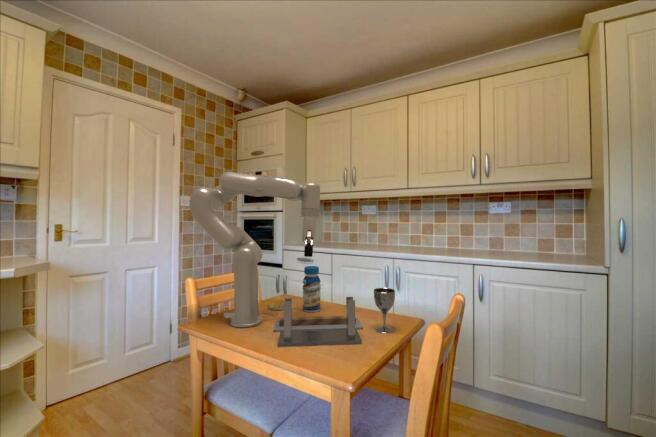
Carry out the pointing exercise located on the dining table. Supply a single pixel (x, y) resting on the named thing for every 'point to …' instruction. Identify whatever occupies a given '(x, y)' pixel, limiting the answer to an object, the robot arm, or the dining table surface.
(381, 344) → the dining table surface
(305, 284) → the beverage bottle
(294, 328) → the grey mat
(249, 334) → the dining table surface
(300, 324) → the walnut rail
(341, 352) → the dining table surface
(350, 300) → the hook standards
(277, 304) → the bread roll
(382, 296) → the wine glass
